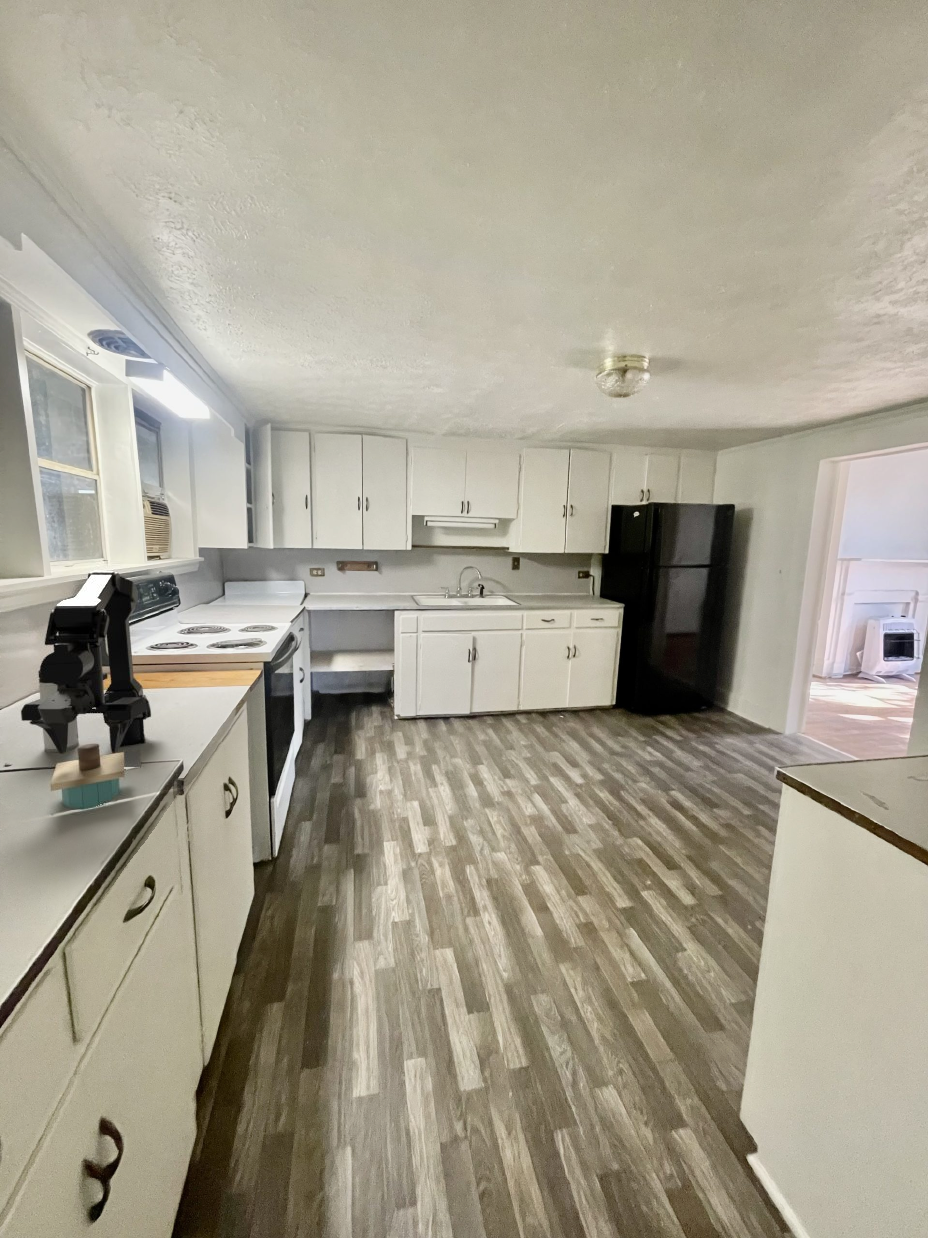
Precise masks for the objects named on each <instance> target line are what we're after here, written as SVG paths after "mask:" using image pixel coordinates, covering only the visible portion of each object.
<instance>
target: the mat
mask: <svg viewBox="0 0 928 1238" xmlns="http://www.w3.org/2000/svg"><path fill="white" fill-rule="evenodd" d="M121 752H122V751H121ZM121 752H120V751H119V752H118V753H121ZM123 752H124V767H140V768H139V769H141V768H142V762H141V761H142V760H141V759H142V758H141V750H140V748H138V749H132V750H125V751H123ZM109 754H110V753H108V754H106V755H109ZM112 754H115V753H112ZM103 755H104V754H103ZM103 755H100V756H103ZM76 760H78V759H76ZM125 771H127V770H126V769H124V772H125Z"/></svg>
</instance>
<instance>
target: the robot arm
mask: <svg viewBox="0 0 928 1238" xmlns="http://www.w3.org/2000/svg"><path fill="white" fill-rule="evenodd" d="M138 591H139V590H138V588H137V586H136V584H135V583H134V581H132V580H130V579H128V578H125V577H123V576H121V575H120V573H119V572H116V571H114V570H113V571H112V570H109V571H108V570H107V571H106V570H103V571H102V570H92V571H90V572H89V573H88V574H87V580H86V582H85V583H84V584H83V585H82V587H81V589H80V590H79V591H78V592H77V594H76V596H75V597H73V598H69V599H66V600H65V599H64V600H62V601H61V602H59V603H58V604H56V605H55V607H54V608H53V610H51V611H50V613H49V617H48V621H47V622H48V623H47V629H46V633H45V639H44V645H45V646H53V652H51V653H49V654H47V655H46V656H45V657H44V658H43V659H42V661H41V664H40V666H39V670H40V671H41V674H42V676H43V677H44V678H45V679H46V680H47V681H49V682H50V683H53V684H56V685H57V687H58V689H57V692H56V693H54V694H52V695H51V696H49V697H44V698H41V699H40V698H38V699H36V700H34V701H33V700H32V701H31V702H28V703H25V704H24V705H23V707H22V708H21V710H20V717H21V719H20V720H21V721H23V722H25V721H26V722H27V721H28V722H29V723H28V724H30V725H33V726H37V727H39V728H42V730H43V729H44V730H45V731H46V732H47V734H48V735H49V736H50V738H51V740H52V741H53V743H54V745H55V746H56V748H57V750H58V751H59V752H58V753H59V754H61V755H63V754H64V753H66V752H67V750H66V749H67V743H68V723H70V722H72V721H74V720H75V719H76V717H77V718H78V716H79V715H86V714H102V717H103V721H104V724H105V725H107V727H109V729H108V730H109V741H110V742H109V745H110V748H111V750H110V751H111V754H113V753H118V751H119V749H120V748H123V747H129V746H137V745H141V744H145V743H146V737H145V736H146V735H145V724H144V721H145V720H147V719H149V718H151V717H152V709H151V704H150V701H149V700H148V698H147V696H146V695H147V694H144V689H143V685H141V683H140V682H139V681H138V680H137V679H136V678H135V676H134V667H133V654H132V653H133V652H132V643H131V642H132V641H131V632H130V617H131V615H132V614H133V612H134V610H135V609H136V607H137V606H136V605H137V603H138V600H139V592H138ZM105 638H106V645H107V654H108V656H107V657H108V663H109V665H108V667H109V674H110V675H109V676H110V677H109V678H110V684H109V685H108V687H107V689H106V690H105V687H104V680H107V679H108V673H107V672H105V673H103V660H102V659H103V658H102V647H101V643H102V642H103V639H105Z"/></svg>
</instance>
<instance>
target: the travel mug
mask: <svg viewBox="0 0 928 1238" xmlns="http://www.w3.org/2000/svg"><path fill="white" fill-rule="evenodd" d="M37 672H38V674H37V675H38V685H39V687H38V689H39V699H41V698H44V697H49V696H51V695H52V694H54V693H56V692H57V689H58V687H57V685H56V684H53V683H50V682H49V681H47V680H46V679H45V678H44V677H43V676H42V674H41V671H40V669H39V670H38V671H37ZM42 735H43V736H42V737H43V744H44V747H43V748H44V752H48V753H56V752H57V753H59V751H58V750H57V748H56V746H55V745H54V743H53V741H52V740H51V738H50V736H49V735H48V734H47V732H46V731H45V730H44V729H43V728H42ZM79 744H80V742H79V728H78V716H77V717H76V719H75V720H74V721H72V722H70V723H68V743H67V749H66V751H68V750H71V749H75V748H76V747H79Z"/></svg>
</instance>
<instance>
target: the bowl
mask: <svg viewBox="0 0 928 1238" xmlns="http://www.w3.org/2000/svg"><path fill="white" fill-rule="evenodd" d="M120 788H121V787H120V778H117V779H112V780H107V781H102V782H96V783H91V784H86V785H81V786H76V787H70V788H65V789H61V796H62V805H63V806H66V807H67V808H74V809H71V810H73V811H75V810H77V811H78V810H79V811H80V810H87V809H92V808H96V806H97V807H99V806H98V805H100V804H103V803H105V802H108V801H109V800H112V799H114V798H115V797H116V796H117V795H119V794H120ZM103 805H104V804H103Z"/></svg>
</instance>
